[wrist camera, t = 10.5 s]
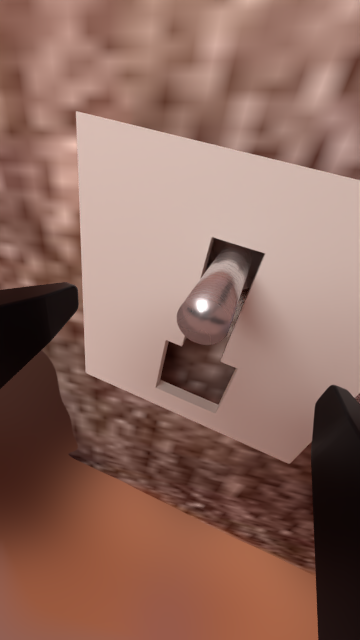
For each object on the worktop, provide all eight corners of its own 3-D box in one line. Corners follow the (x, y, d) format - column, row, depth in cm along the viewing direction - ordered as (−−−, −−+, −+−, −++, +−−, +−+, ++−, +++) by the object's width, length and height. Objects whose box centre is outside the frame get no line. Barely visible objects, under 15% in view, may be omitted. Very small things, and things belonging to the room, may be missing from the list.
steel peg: (285, 229, 15) (287, 290, 7) (258, 292, 17) (240, 384, 10) (215, 209, 15) (156, 247, 8) (199, 272, 18) (142, 345, 11)
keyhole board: (481, 210, 12) (529, 221, 9) (288, 435, 23) (289, 464, 21) (107, 119, 15) (76, 111, 13) (102, 355, 26) (85, 372, 24)
